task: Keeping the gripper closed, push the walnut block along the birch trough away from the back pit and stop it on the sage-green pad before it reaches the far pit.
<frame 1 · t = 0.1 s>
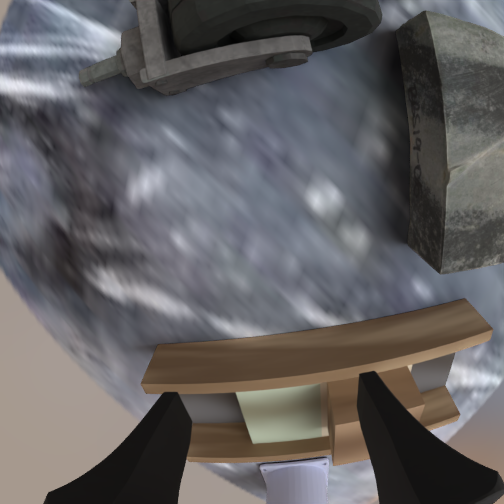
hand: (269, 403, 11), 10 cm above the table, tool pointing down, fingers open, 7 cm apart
walnut block: (365, 399, 20), point 3 cm above the table, touching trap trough
stone block: (457, 138, 16), on the table
caster wheel: (220, 47, 15), on the table
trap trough: (322, 379, 24), on the table
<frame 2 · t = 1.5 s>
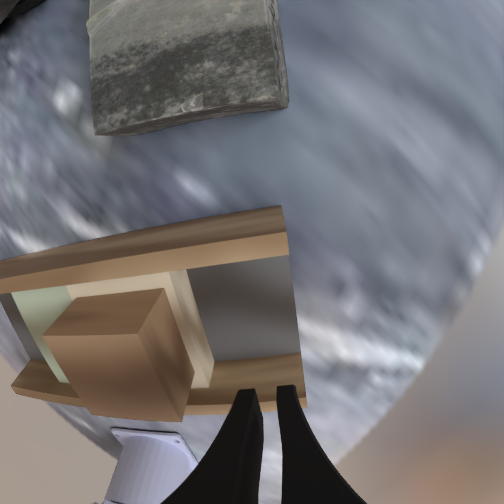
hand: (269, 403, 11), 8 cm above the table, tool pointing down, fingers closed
walnut block: (134, 336, 17), point 3 cm above the table, touching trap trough
stone block: (205, 7, 13), on the table
caster wheel: (17, 9, 11), on the table
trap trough: (113, 313, 20), on the table
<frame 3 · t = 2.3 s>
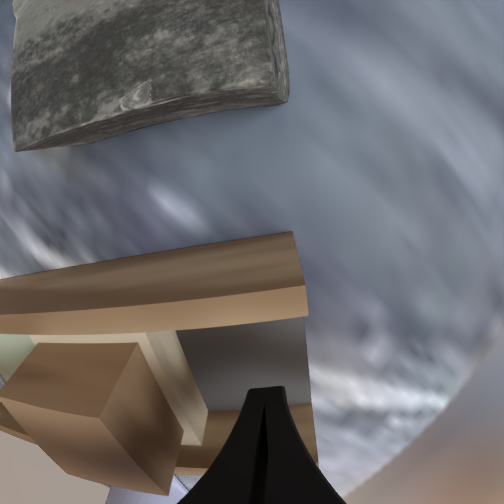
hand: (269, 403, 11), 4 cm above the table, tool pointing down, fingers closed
walnut block: (108, 391, 13), point 3 cm above the table, touching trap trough
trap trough: (87, 353, 16), on the table
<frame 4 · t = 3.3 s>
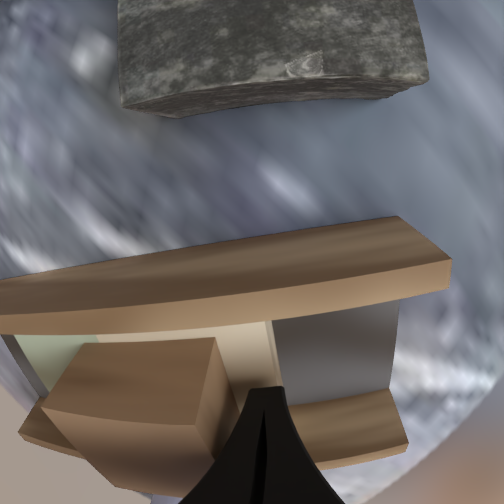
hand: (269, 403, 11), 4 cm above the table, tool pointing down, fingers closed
walnut block: (166, 393, 12), point 3 cm above the table, touching gripper
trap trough: (153, 353, 15), on the table
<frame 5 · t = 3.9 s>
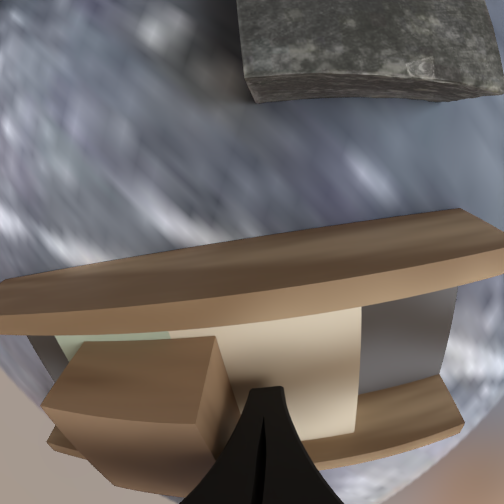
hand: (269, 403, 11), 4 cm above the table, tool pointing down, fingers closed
walnut block: (166, 392, 12), point 3 cm above the table, touching gripper, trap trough
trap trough: (214, 349, 15), on the table
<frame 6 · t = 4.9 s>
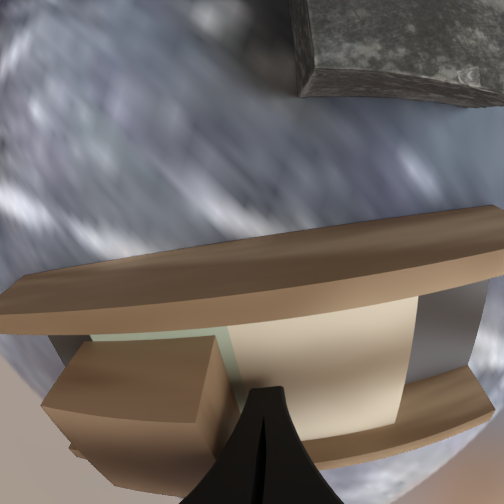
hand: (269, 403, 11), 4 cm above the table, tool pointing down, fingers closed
walnut block: (166, 391, 12), point 3 cm above the table, touching gripper, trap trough
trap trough: (258, 345, 15), on the table
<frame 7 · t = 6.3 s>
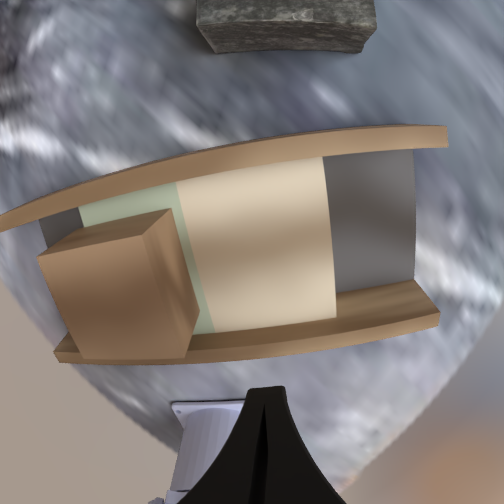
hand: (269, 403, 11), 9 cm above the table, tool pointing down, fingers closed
walnut block: (136, 270, 16), point 3 cm above the table, touching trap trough
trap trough: (214, 241, 19), on the table
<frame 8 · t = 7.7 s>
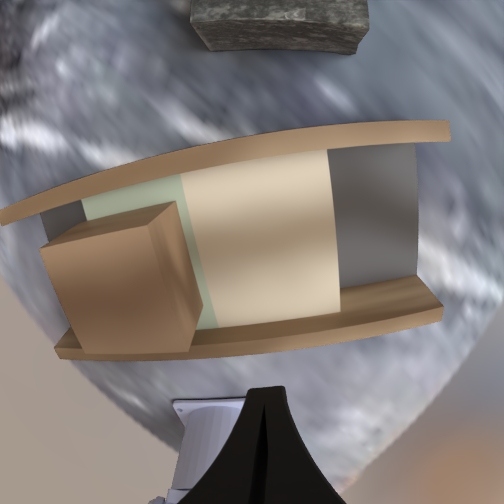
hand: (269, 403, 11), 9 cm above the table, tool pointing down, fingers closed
walnut block: (139, 264, 16), point 3 cm above the table, touching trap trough
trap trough: (217, 236, 19), on the table
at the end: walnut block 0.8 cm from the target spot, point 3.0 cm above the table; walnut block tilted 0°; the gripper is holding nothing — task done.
